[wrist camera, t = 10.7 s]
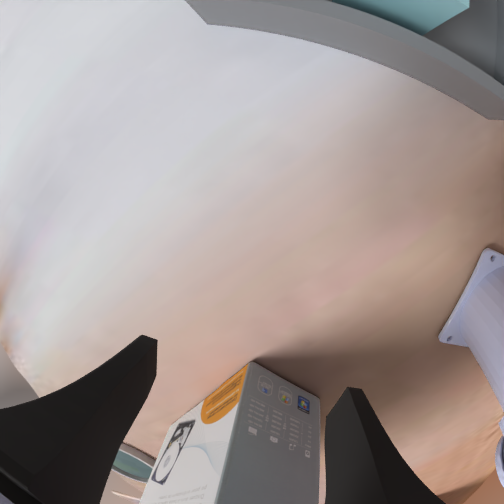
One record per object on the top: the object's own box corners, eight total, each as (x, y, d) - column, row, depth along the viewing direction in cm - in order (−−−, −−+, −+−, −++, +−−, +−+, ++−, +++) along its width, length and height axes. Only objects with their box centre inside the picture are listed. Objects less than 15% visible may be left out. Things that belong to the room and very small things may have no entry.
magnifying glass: (276, 500, 36) (275, 510, 34) (105, 460, 39) (101, 468, 37) (290, 473, 31) (290, 485, 29) (80, 422, 34) (75, 431, 32)
